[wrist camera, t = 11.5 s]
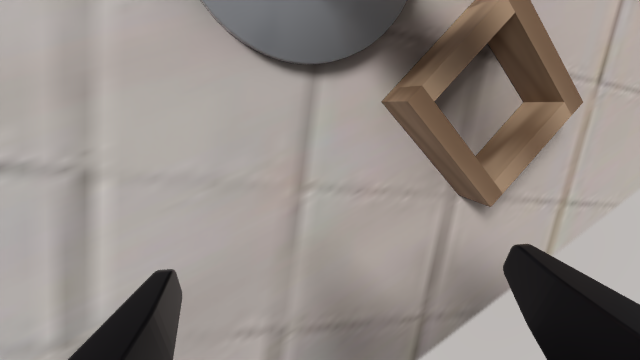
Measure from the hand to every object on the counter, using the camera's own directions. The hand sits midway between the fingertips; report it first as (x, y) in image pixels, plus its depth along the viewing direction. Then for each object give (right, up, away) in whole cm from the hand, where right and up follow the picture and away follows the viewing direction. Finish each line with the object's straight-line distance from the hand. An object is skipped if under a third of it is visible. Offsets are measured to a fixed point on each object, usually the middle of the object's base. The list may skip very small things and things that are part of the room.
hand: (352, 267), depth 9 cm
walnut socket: (+9, +8, +14) cm, 18 cm away
